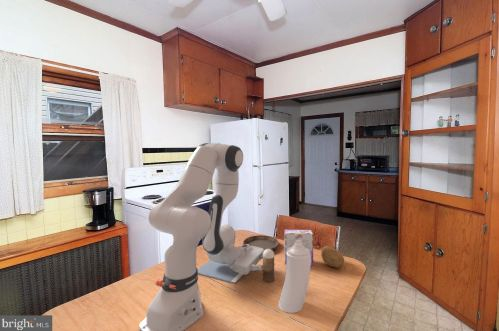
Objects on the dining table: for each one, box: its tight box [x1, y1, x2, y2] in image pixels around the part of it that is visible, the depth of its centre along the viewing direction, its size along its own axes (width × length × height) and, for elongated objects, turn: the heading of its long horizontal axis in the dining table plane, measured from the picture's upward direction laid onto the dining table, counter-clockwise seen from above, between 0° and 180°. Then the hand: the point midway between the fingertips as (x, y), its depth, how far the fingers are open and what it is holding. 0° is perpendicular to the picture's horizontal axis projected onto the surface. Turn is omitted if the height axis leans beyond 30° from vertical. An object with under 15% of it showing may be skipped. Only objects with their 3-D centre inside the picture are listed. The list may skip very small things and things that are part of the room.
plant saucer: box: [242, 234, 279, 251], centre depth 145 cm, size 21×21×3 cm
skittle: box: [262, 249, 275, 284], centre depth 109 cm, size 5×5×14 cm
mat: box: [197, 259, 244, 285], centre depth 119 cm, size 18×22×1 cm
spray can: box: [277, 240, 312, 314], centre depth 92 cm, size 12×11×25 cm
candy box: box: [284, 229, 314, 266], centre depth 124 cm, size 14×6×16 cm, turn 84°
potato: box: [320, 245, 345, 269], centre depth 121 cm, size 10×14×8 cm
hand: (266, 263), depth 109 cm, fingers open, 8 cm apart
